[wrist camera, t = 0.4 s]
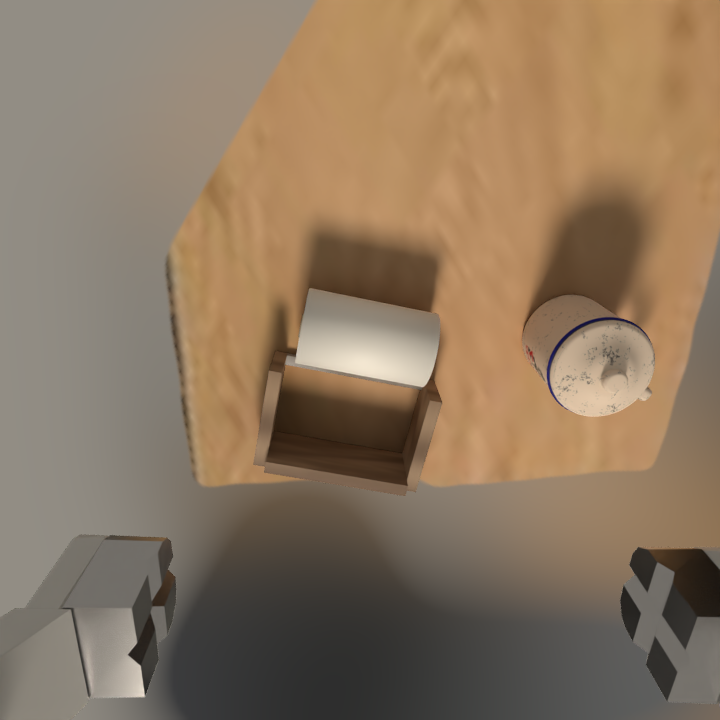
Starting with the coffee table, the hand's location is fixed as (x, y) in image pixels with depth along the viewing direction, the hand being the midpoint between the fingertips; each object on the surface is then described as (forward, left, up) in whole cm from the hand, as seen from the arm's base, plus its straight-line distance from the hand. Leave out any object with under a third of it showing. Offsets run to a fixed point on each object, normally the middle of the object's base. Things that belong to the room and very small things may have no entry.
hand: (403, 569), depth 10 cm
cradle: (+19, +3, -44) cm, 48 cm away
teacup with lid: (+7, +24, -44) cm, 50 cm away
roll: (+10, +3, -40) cm, 42 cm away
